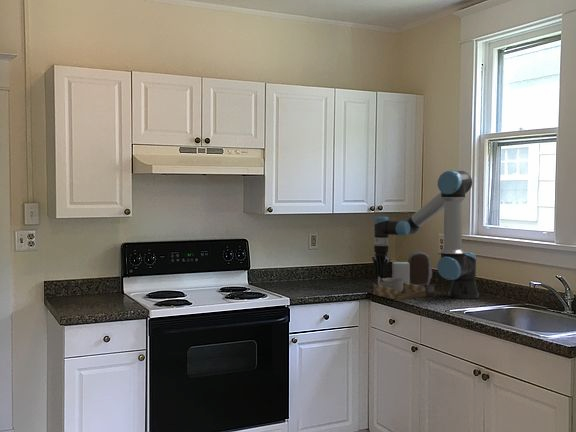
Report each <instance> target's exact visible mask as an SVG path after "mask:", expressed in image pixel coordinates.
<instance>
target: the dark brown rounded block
mask: <svg viewBox="0 0 576 432" xmlns="http://www.w3.org/2000/svg"><path fill="white" fill-rule="evenodd" d="M431 261H432V260H431V258H430V255H428V253H426V252H424V251H421V250H418V251H414V252H412V253H411V254H410V255H408V260H407V262H408V263H409V264H410V284H413V285H418V286H423V287H426V286H428V285H430V282H431V279H432V278H433V273H434V272H433V270H432V262H431Z"/></svg>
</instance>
